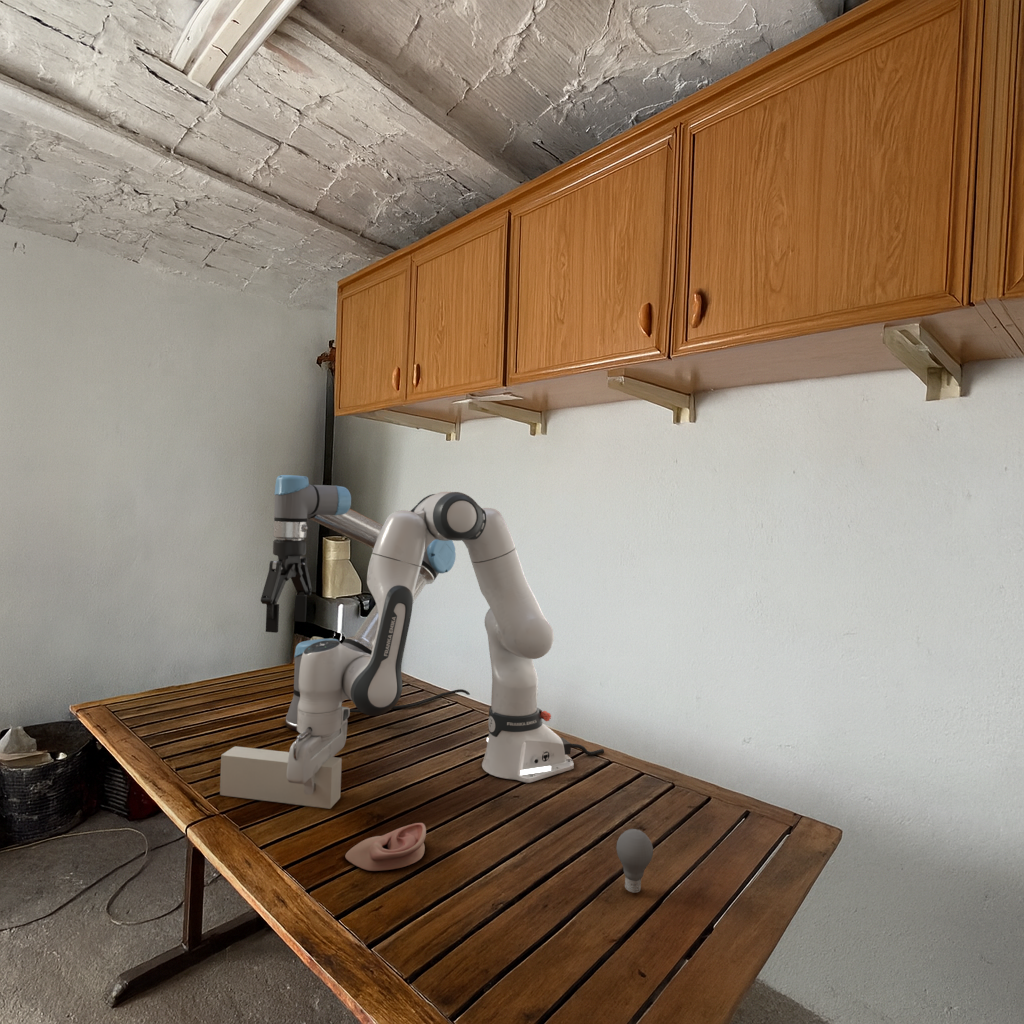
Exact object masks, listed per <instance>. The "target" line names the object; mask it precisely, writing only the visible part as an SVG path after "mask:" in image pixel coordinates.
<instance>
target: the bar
mask: <svg viewBox="0 0 1024 1024" xmlns="http://www.w3.org/2000/svg"><path fill="white" fill-rule="evenodd" d="M288 757H289V751H282V750H281V751H280V750H274V749H273V750H272V749H264V748H256V747H255V748H254V747H246V746H238V745H237V746H236V745H235V746H233V747H231V748H230V749H228V750H227V751H225V752H223V753H222V754H221V755H220V780H219V796H223V797H224V796H225V797H231V798H232V797H233V798H240V799H246V800H247V799H248V800H255V801H264V802H272V803H281V804H288V805H297V806H304V807H312V808H321V809H327V810H328V809H330V810H331V809H332V808H333V807H334V806H335V804H336V803H338V801H339V800H340V799H341V789H342V788H341V787H342V766H343V765H342V761H343V758H342V757H335V756H334V757H330V758H329V759H328V760H327V761H326V762H325V763H324V764H323V765H322V766H321V768H320V769H319V770H318V771H317V772H316V773H315V775H314V778H313V781H314V783H316V790H315V792H314V793H313V794H311V795H309V794H305V793H304V784H296V783H290V782H289V781H288V780H287V766H288Z"/></svg>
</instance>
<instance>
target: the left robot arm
mask: <svg viewBox="0 0 1024 1024" xmlns="http://www.w3.org/2000/svg"><path fill="white" fill-rule="evenodd" d="M351 507H352V495H351V492H350V491H349V489H348V488H347V487H345V486H340V485H327V484H310V482H309V477H308V476H307V475H296V474H295V475H292V474H281V475H278V476H277V477H276V479H275V487H274V513H273V514H274V518H273V520H274V521H273V535H272V536H273V538H275V539H274V540H273V541H272V554H273V555H274V556H276V557H277V560H270V561H269V565H268V567H269V568H268V572H267V575H266V576H267V577H266V580H265V583H264V586H263V589H262V593H261V596H260V603H261V604H263V605H266V610H265V611H266V612H265V632H266V633H276V634H277V633H279V624H280V623H279V620H280V618H279V617H280V615H279V614H280V603H278V602H279V600H280V596H281V595H282V593H283V590H284V588H285V585H286V584H287V582H288V581H289V580H291V582H292V584H293V586H294V590H295V591H296V593H297V594H296V595H295V597H294V622H301V623H305V622H307V602H308V601H307V599H308V596H311V595H312V590H313V587H312V581H311V578H310V577H311V576H310V573H309V568H308V557H307V556H305V555H306V553H307V541H306V540H305V539H306V538H307V530H308V529H309V527H308V525H307V523H308V520H310V521H313V522H315V523H317V524H319V525H321V526H324V527H326V528H328V529H330V530H332V531H334V532H336V533H339V534H341V535H343V536H345V537H347V538H349V539H351V540H354V541H356V542H357V543H360V544H362V545H364V546H367V547H369V548H371V550H372V551H373V549H374V546H375V543H376V540H377V538H378V536H379V533H380V531H381V529H382V527H383V525H384V524H382V523H380V522H377V520H376V521H375V520H373V518H370V517H367V516H366V515H364V514H361V512H360V513H359V512H358V511H356V510H353V508H352V509H351ZM377 555H379V554H377ZM379 556H382V555H379ZM383 557H386V556H383ZM456 557H457V554H456V546H455V543H454V540H449V541H442V540H437V539H435V540H434V541H432V542H431V543H430V544H429V546H428V547H427V549H426V551H425V552H424V556H423V561H422V564H421V566H419V565H415V564H412V565H415V566H419V567H421V568H420V572H419V575H418V579H417V583H416V587H415V591H414V598H413V604H414V603H415V601H416V599H417V598H418V597H419V595H420V594H421V592H422V590H423V589H424V587H425V586H426V585H431V584H433V583H434V582H435V580H436V579H437V577H438V576H439V574H446V573H448V572H450V571H451V570H452V568H453V567H454V565H455V562H456ZM386 558H390V557H386ZM390 559H393V558H390ZM393 560H397V559H393ZM397 561H400V560H397ZM401 562H404V561H401ZM404 563H408V562H404ZM408 564H411V563H408ZM378 620H379V615H378V608H377V605H376V604H375V605H374V607H373V608H372V609H371V611H370V612H369V614H368V615H367V616H366V618H365V619H364V621H363V622H362V624H361V625H360V627H359V628H358V629H357V631H356V633H354V635H352V636H348V637H345V638H344V640H343V641H342V643H341V644H342V645H344V646H345V647H347V648H349V649H352V650H355V651H358V652H363V653H368V654H370V655H371V653H372V649H373V644H374V640H375V635H376V631H377V626H378ZM326 640H327V641H329V640H334V641H338V642H340V641H339V639H337V638H333V639H329V638H324V639H316V640H311V639H308V640H304V641H300V642H299V643H297V645H296V646H295V650H294V655H293V657H294V672H293V673H294V674H293V695H292V696H293V697H292V699H291V702H290V704H289V708H288V711H287V713H286V715H285V726H286V728H287V729H289V730H291V731H294V732H295V731H296V732H298V731H297V712H298V703H299V700H300V691H299V686H298V685H299V670H300V663H301V658H302V654H303V652H304V650H305V649H306V648H307V647H308V646H310V645H311V644H314V643H317V642H320V641H326ZM457 693H464V694H466V695H467V696H469V695H471V693H470V692H469V691H467V690H465V689H461V688H458V689H454V690H450V691H446V692H442V693H438V694H436V695H434V696H432V697H428V698H426V699H423V700H421V701H417V702H414V703H413V702H412V703H408V704H401V705H395V706H394V707H393V708H392V709H391V710H398V709H399V710H400V709H406V708H414V707H416V706H420V705H423V704H426V703H428V702H432V701H435V700H436V699H438V698H441V697H445V696H449V695H453V694H457ZM349 700H350V701H352V700H351V699H348V701H349ZM349 709H350V713H355V714H356V713H358V714H359V713H360V714H363V713H362V712H360V711H359V710H358V708H349Z"/></svg>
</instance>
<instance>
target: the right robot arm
mask: <svg viewBox="0 0 1024 1024" xmlns="http://www.w3.org/2000/svg"><path fill="white" fill-rule="evenodd" d="M382 525H383V527H382V529H381V531H380V533H379V536H378V538H377V540H376V543H375V546H374V549H373V550H372V553H371V556H370V558H369V562H368V567H367V574H366V584H367V587H368V590H369V592H370V594H371V595H372V597H373V599H374V602H375V605H377V608H378V615H379V620H378V626H377V631H376V635H375V640H374V644H373V649H372V653H371V655H370V654H368V653H363V652H358V651H355V650H352V649H349V648H347V647H345V646H344V645H342V643H341V642H340V641H339V640H338V641H339V642H338V641H334V640H329V641H327V640H326V641H320V642H317V643H314V644H311V645H310V646H308V647H307V648H306V649H305V650H304V652H303V654H302V658H301V663H300V670H299V685H298V686H299V691H300V700H299V703H298V712H297V731H296V732H298V733H299V734H298V735H297V736H296V740H295V741H293V742H292V744H291V745H290V747H289V751H288V752H289V757H288V766H287V780H288V781H289V782H290V783H296V784H304V793H305V794H309V795H311V794H313V793H314V792H315V790H316V783H314V781H313V778H314V775H315V773H316V772H317V771H318V770H319V769H320V768H321V766H322V765H323V764H324V763H325V762H326V761H327V760H328V759H329V758H330V757H335V756H336V755H337V754H339V752H340V751H341V750H343V749H344V748H345V745H346V741H347V735H348V719H349V717H350V715H351V714H350V713H351V712H350V709H351V708H350V707H349V706H348V707H347V706H343V703H344V701H346V700H349V699H351V700H350V701H352V703H353V704H354V705H355V707H356V709H358V710H359V711H360V712H362V713H361V714H363V715H367V716H371V717H376V716H381V715H384V714H387V712H389V711H391V710H393V709H392V708H393V707H394V706H397V703H398V702H399V701H400V698H401V697H402V696H401V695H402V693H403V677H402V663H403V657H404V652H405V649H406V648H405V647H406V643H407V638H408V633H409V628H410V623H411V620H412V619H411V618H412V612H413V605H414V603H413V598H414V591H415V587H416V583H417V579H418V575H419V572H420V568H421V567H419V566H421V564H422V561H423V556H424V552H425V551H426V549H427V547H428V546H429V544H430V543H431V542H432V541H434V540H435V539H437V540H442V541H449V540H452V541H453V542H454V541H455V542H456V541H457V542H459V541H462V543H463V544H464V545H465V547H466V549H467V552H468V555H469V559H470V562H471V564H472V568H473V570H474V574H475V577H476V580H477V583H478V587H479V590H480V592H481V594H482V596H483V598H484V599H485V601H486V602H487V604H488V607H489V608H488V610H487V612H486V613H485V616H484V627H485V630H486V634H487V641H488V652H489V658H490V666H491V667H490V668H491V701H490V702H491V703H490V705H489V708H488V711H489V712H488V720H487V721H488V722H487V723H488V724H487V727H488V737H486V742H487V744H486V748H485V753H484V756H483V760H482V762H481V768H482V769H483V771H484V772H486V773H487V774H489V775H491V776H494V777H497V778H500V779H506V780H515V781H519V782H522V783H526V784H527V783H529V784H531V783H533V782H537V781H539V780H542V779H543V780H544V779H546V778H549V777H552V776H556V775H559V774H563V773H565V772H568V771H572V770H574V769H575V765H574V764H575V763H574V761H573V759H572V758H571V757H570V756H569V755H571V748H573V749H579V750H581V751H582V752H583V753H584V754H585V755H587V756H591V757H592V756H597V755H600V754H604V753H605V749H604V748H601V749H597V750H593V751H589V750H588V749H587V748H586V747H585V746H584V745H582V744H578V743H571V742H570V741H568V740H567V739H566V738H564V737H560V736H559V734H557V733H556V732H555V731H553V729H551V728H550V727H549V726H548V725H546V724H545V723H544V721H545V722H550V720H551V719H552V714H551V713H550V712H548V711H547V710H542V709H541V708H539V707H538V689H539V688H538V687H539V677H538V673H537V670H536V667H535V662H534V660H536V659H541V658H542V657H544V656H545V655H546V654H548V653H549V652H550V650H551V648H552V647H553V644H554V640H555V633H554V629H553V627H552V625H551V624H550V623H549V621H548V620H547V618H546V616H545V614H544V613H543V610H542V609H541V606H540V604H539V602H538V600H537V597H536V596H535V593H534V592H533V590H532V588H531V586H530V584H529V582H528V580H527V578H526V575H525V573H524V568H523V566H522V565H523V564H522V563H521V559H520V556H519V553H518V551H517V547H516V544H515V541H514V538H513V535H512V533H511V530H510V528H509V526H508V524H507V522H506V521H505V518H504V517H503V515H502V513H501V512H500V511H498V510H497V509H496V508H492V507H481V506H480V505H479V504H478V503H477V502H476V501H475V500H474V499H473V498H472V497H471V496H470V495H468V494H466V493H464V492H459V491H440V492H437V493H433V494H429V495H427V496H425V497H423V498H422V499H421V500H419V502H418V503H416V505H415V506H414V507H413V508H412V509H410V510H406V509H405V510H403V509H402V510H395V511H393V512H391V513H390V514H389V515H388V516H387V517H386V520H385V521H384V523H383V524H382ZM378 554H379V555H378ZM380 555H382V556H380ZM383 556H386V557H390V558H393V559H397V560H400V561H397V560H393V559H390V558H386V557H383ZM401 561H404V562H408V563H411V564H408V563H404V562H401ZM412 564H415V565H419V566H415V565H412ZM543 720H544V721H543Z"/></svg>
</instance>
